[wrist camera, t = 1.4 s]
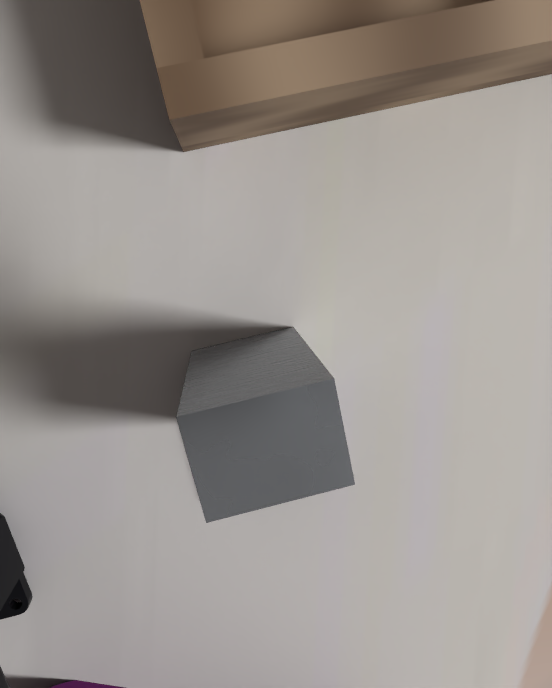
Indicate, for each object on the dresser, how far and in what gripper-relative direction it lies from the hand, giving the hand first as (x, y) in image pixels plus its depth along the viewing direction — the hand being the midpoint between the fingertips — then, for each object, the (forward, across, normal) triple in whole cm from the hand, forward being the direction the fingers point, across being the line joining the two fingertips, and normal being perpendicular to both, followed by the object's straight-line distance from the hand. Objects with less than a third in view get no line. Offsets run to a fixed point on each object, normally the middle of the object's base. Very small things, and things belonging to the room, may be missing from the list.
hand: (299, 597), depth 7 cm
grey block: (+12, 0, +2) cm, 12 cm away
